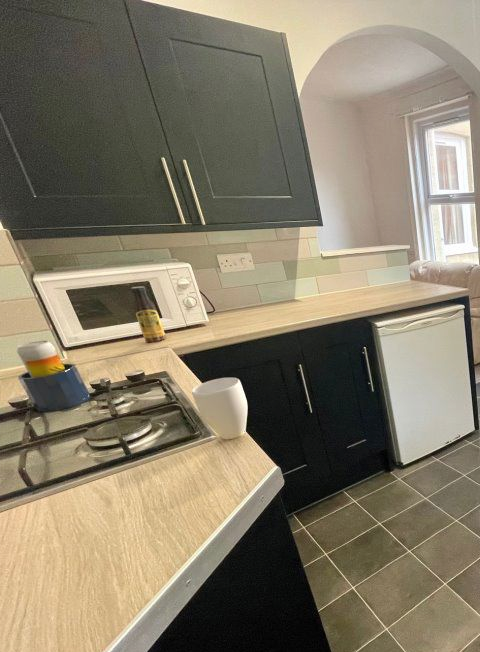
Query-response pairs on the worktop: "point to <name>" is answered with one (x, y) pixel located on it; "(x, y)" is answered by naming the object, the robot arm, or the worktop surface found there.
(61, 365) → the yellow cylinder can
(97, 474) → the worktop surface
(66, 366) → the crock
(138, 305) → the sauce bottle
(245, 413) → the mug
